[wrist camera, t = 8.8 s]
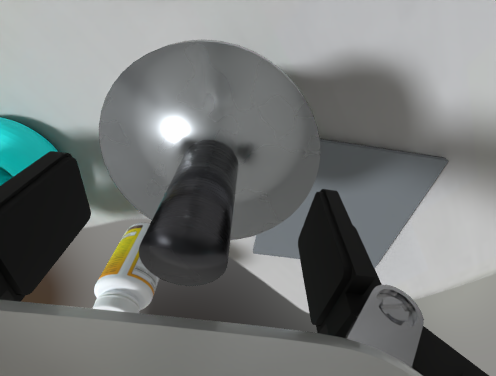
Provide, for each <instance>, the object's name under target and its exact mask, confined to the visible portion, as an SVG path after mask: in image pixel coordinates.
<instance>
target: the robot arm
mask: <svg viewBox="0 0 496 376" xmlns="http://www.w3.org/2000/svg"><path fill="white" fill-rule="evenodd" d="M90 216H91V211H90V207H89V204H88V200H87V196H86V193H85V189H84V186H83V182H82V179H81V175H80V171H79V168H78V164H77V161H76V159H75V158H72V156H71V155H70V154H68V153H62V152H55V151H50V152H48V153H47V154H45V155H44V156H42V157H41V158H40V159H38V160H37V161H35V162H34V163H32V164H31V165H29V166H28V167H27V168H25V169H24V170H22V171H21V172H19V173H18V174H17V175H15V176H14V177H12V178H11V179H9V180H8V181H7V182H5V183H4V184H2V185H1V186H0V376H489V375H487V374H486V373H485V372H483V371H482V370H481V369H479V368H478V367H477V366H475V365H474V364H473V363H471V362H470V361H469V360H467V359H466V358H465V357H463V356H462V355H461V354H459V353H458V352H457V351H456V350H454V349H453V348H452V347H450V346H449V345H448V344H446V343H445V342H444V341H442V340H441V339H440V338H438V337H437V336H436V335H434V334H433V333H432V332H431V331H429V330H428V329H426V328H425V327H424V326H423V323H424V322H423V321H424V319H423V315H422V312H421V310H420V309H419V307H418V305H417V304H416V303H415V302H414V300H413V299H412V298H411V297H410V296H408V295H407V294H406V293H405V292H403V291H401V290H400V289H398V288H396V287H393V286H390V285H382V284H381V282H380V280H379V278H378V276H377V273H376V271H375V269H374V267H373V265H372V262H371V260H370V258H369V256H368V254H367V251H366V249H365V247H364V245H363V242H362V240H361V238H360V236H359V234H358V231H357V229H356V228H355V227H354V226H353V225H352V222H351V220H350V218H349V216H348V213H347V211H346V209H345V207H344V204H343V202H342V200H341V198H340V195H339V193H338V192H337V191H335V190H328V189H322V190H321V191H320V192H316V194H315V196H314V199H313V201H312V204H311V207H310V209H309V212H308V214H307V217H306V220H305V222H304V225H303V228H302V230H301V233H300V235H299V238H298V249H299V255H300V261H301V266H302V272H303V278H304V283H305V289H306V295H307V301H308V306H309V312H310V317H311V322H312V324H313V325H316V327H317V333H313V332H304V331H296V330H288V329H280V328H272V327H264V326H255V325H245V324H236V323H226V322H217V321H208V320H198V319H189V318H179V317H170V316H159V315H150V314H140V313H130V312H121V311H111V310H101V309H91V308H81V307H70V306H60V305H50V304H38V303H29V302H21V300H22V299H23V298H24V296H25V295H28V294H30V293H32V291H33V290H34V289H35V288H36V287H37V285H38V284H39V283H40V282H41V280H42V279H43V278H44V276H45V275H46V274H47V273H48V271H49V270H50V269H51V268H52V266H53V265H54V264H55V262H56V261H57V260H58V259H59V257H60V256H61V255H62V254H63V252H64V251H65V250H66V248H67V247H68V246H69V245H70V243H71V242H72V241H73V240H74V238H75V237H76V236H77V234H78V233H79V232H80V230H81V229H82V228H83V227H84V226H85V224H86V223H87V222H88V220H89V219H90Z"/></svg>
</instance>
